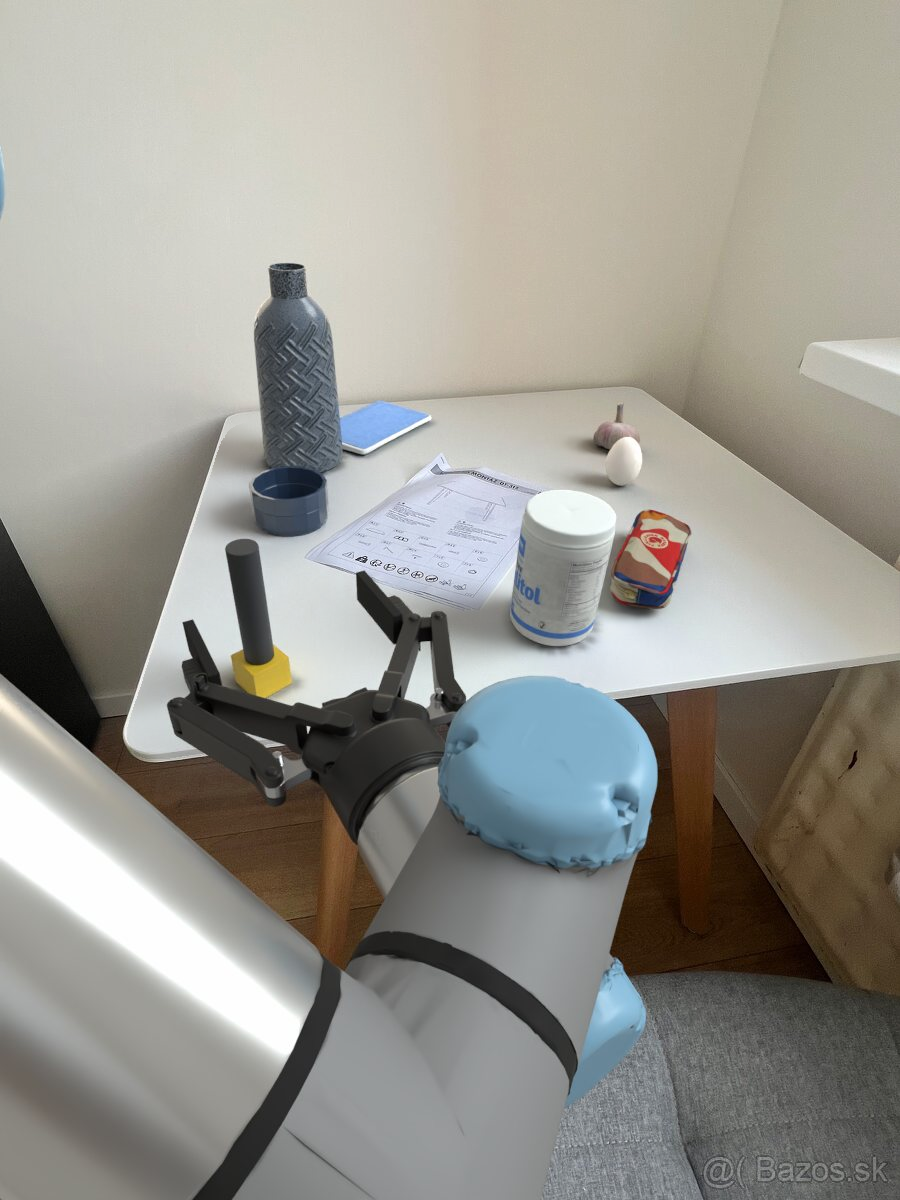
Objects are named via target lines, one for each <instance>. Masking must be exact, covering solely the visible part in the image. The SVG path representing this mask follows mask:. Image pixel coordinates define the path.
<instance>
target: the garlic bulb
mask: <svg viewBox="0 0 900 1200" xmlns="http://www.w3.org/2000/svg"><path fill="white" fill-rule="evenodd" d="M616 406H617V407H616V415H615V416H616V417H615V420H611V421H604V422H602V423H601V424H600V425H599V426H597V429H596V431H595V432H594V434H593V436H592V437H593V443H594V444H595V445H596V446H598V447H603V448H605V449H607V450H609V451H610V450H611V448H612V446H613V445H614V444H615V443H616V442H617V441H618V440H620V439H621V438H624V437H631V438H633V439H634V440H636V441H637V443H638V444H639V445H640V441H641V437H640V435H639V433H638V431H637V429H636V428H635V427H634V426H633V425H629V424H628V423H626V422H624V402H623V401H620V402H618V403H617V405H616Z"/></svg>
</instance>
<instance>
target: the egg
mask: <svg viewBox="0 0 900 1200" xmlns="http://www.w3.org/2000/svg"><path fill="white" fill-rule="evenodd" d="M642 465H643V453H642V448H641V446H640V443H639V444H638V443H637V441H636V440H634V439H633V438H631V437H624V438H621V439H620V440H618V441H617V442H616V443H615V444H614V445H613V446H612V448H611V449H610V450H609V451H608V453H607V456H606V460H605V473H606V476H607V477H608V479H609V480H610V482H612V483H613V485H616V486H626V485H629V484H631V483H632V482H633V481H635V479H637V477H638V476H639V474H640V472H641V468H642Z"/></svg>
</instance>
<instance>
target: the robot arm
mask: <svg viewBox="0 0 900 1200" xmlns="http://www.w3.org/2000/svg"><path fill="white" fill-rule="evenodd" d="M5 203H6V171H5V163H4V156H3V152H2V146H1V145H0V220H1V219H2V216H3V212H4V208H5ZM355 582H356V585H355V586H356V601H357V602H358V603H359V604H360V605H361V606H362V608H363V609H364V610H365V611H366V613H367V614H368V615H369V617H370V618H371V619H372V620H373V621H374V623H375V624H376V625H377V626H378V627H379V629H380V630H381V632H382V633H384V635H385V636H386V638H387V639H388V640H389V641H390V642H391V644H392V645H395V646H394V649H393V651H392V654H391V657H390V661H389V663H388V666H387V669H385V670H384V672H383V675H382V678H381V681H380V684H379V686H378V689H368V688H367V687H366V686H365V687H363V688H360V689H357V690H355V691H352V693H350V694H348V695H347V696H344V697H339V698H332V699H330V700H327V701H325V702H322V703H321V707H316V706H314V705H310V704H306V703H303V702H298V701H297V702H295V703H294V704H293V705H292V704H287V703H284V702H280V701H276V700H273V699H270V698H267V697H266V698H263V697H259V696H256V695H253V694H249V693H247V692H246V691H241V690H239V689H235V688H231V687H228V686H224V685H223V683H222V679H221V673H220V671H219V669H218V666H217V665H216V662H215V660H214V659H213V657H212V655H211V653H210V651H209V649H208V647H207V645H206V643H205V640H204V638H203V637H202V634H201V633H200V630H199V629H198V627H197V624H196V622H195V620H194V619H189V620H186V621H182V627H183V631H184V636H185V639H186V644H187V649H188V652H189V654H190V656H191V658H188V659H184V660H182V662H181V670H182V673H183V678H184V682H185V685H186V686H187V690H188V692H189V693H188V694H187V695H186V696H185V697H182V696H177V697H173V698H171V699H170V700H168V702H167V704H166V709H167V712H168V717H169V719H170V723H171V726H172V730H173V734H174V735H175V736H176V737H177V738H179V739H180V740H182V741H183V742H185V743H187V744H189V745H190V746H192V747H193V748H195V749H196V750H198V751H199V752H202V754H203V755H205V756H207V757H209V758H211V759H212V760H214V761H216V762H217V763H219V764H220V765H222V766H224V767H225V768H227V769H228V770H230V771H232V772H233V773H235V774H236V775H238V776H240V777H242V778H243V779H244V780H246V781H247V782H249V783H251V784H253V785H254V786H255V788H256V790H257V791H258V792H259V794H260V795H261V797H262V798H263V800H264V802H266V804H267V805H268V806H269V807H272V808H277V807H281V806H282V805H284V803H286V801H287V791H290V790H292V789H294V788H295V787H297V786H300V785H301V784H303V783H305V782H307V781H309V780H310V781H311V782H313V783H315V784H317V785H318V786H319V787H320V788H321V789H322V790H323V792H324V794H325V795H326V798H327V799H328V801H329V803H330V804H331V806H332V808H333V810H334V811H335V813H336V815H337V816H338V819H339V820H340V822H341V824H342V826H343V827H344V830H345V831H346V833H347V835H348V837H349V838H350V840H351V841H352V843H353V844H355V845H356V846H357V853H358V854H359V856H360V858H361V859H362V862H363V863H364V865H365V867H366V868H367V870H368V872H369V874H370V876H371V878H372V880H373V881H374V883H375V885H376V886H377V887H376V888H378V891H379V892H380V894H381V896H382V897H383V902H382V904H380V907H379V908H378V911H377V912H376V913H375V916H374V917H373V919H372V921H371V923H370V925H369V926H368V928H367V930H366V932H365V933H364V935H363V937H362V939H361V940H360V941H359V942H358V944H357V946H356V948H355V949H354V951H353V953H352V955H351V956H350V958H349V960H348V962H347V964H346V966H345V969H344V970H342V969H341V968H340V967H338V966H337V965H335V964H334V963H333V962H332V961H331V960H329V959H328V958H327V957H326V956H324V954H322V953H321V952H320V951H319V949H318V947H317V946H316V945H315V944H313V943H312V942H311V941H310V940H309V939H308V938H307V937H305V936H304V935H303V934H302V933H300V932H299V931H298V930H297V929H296V928H295V927H294V926H292V925H291V924H290V923H289V922H288V921H287V920H285V919H284V918H283V917H282V916H281V915H280V914H279V913H278V912H276V911H275V910H274V909H273V908H272V907H271V906H269V905H268V904H267V903H266V902H265V901H264V900H262V899H261V898H260V897H259V896H258V895H256V893H254V892H253V891H252V890H251V889H250V888H248V887H247V886H246V885H245V883H243V882H242V881H241V880H239V879H238V878H237V877H236V876H235V875H234V874H232V872H230V871H229V870H228V869H226V867H225V866H224V865H222V864H221V863H220V862H218V860H216V859H215V858H214V857H213V856H212V855H211V854H209V853H208V852H207V851H206V850H205V849H204V848H202V847H201V846H200V845H199V844H198V843H197V842H196V841H194V840H193V839H192V838H191V837H190V836H188V834H186V833H185V832H184V831H183V830H181V829H180V828H179V827H178V826H177V825H175V824H174V823H173V822H172V821H171V820H170V819H169V818H168V817H167V816H165V815H164V814H163V813H162V812H161V811H160V810H159V809H158V808H157V807H155V806H154V805H153V804H152V803H150V802H149V801H148V800H147V799H145V797H144V796H142V795H141V794H140V793H139V792H137V790H135V789H134V788H133V787H132V786H131V785H130V784H128V783H127V782H126V781H125V780H124V779H123V778H122V777H120V776H119V775H118V774H117V773H116V772H115V771H113V770H112V769H111V768H110V767H109V766H107V764H105V763H104V762H103V761H102V760H101V759H100V758H99V757H98V756H96V755H95V754H94V753H92V752H91V751H90V750H89V749H88V748H87V747H86V746H85V745H84V744H83V743H81V742H80V741H79V740H78V739H77V738H75V737H74V736H73V735H72V734H70V733H69V732H68V731H67V730H66V729H65V728H64V727H62V725H60V724H59V723H58V722H57V721H56V720H55V719H54V718H52V717H51V716H50V715H49V714H48V713H47V712H45V711H44V710H43V709H42V708H41V707H40V706H38V705H37V704H36V702H34V701H32V699H30V698H29V697H28V696H27V695H25V693H23V692H22V691H21V690H20V689H19V688H18V687H16V686H15V685H14V684H13V683H12V682H10V681H9V680H8V679H7V678H6V677H4V675H3V674H1V673H0V1199H1V1200H542V1196H543V1192H544V1189H545V1184H546V1181H547V1178H548V1173H549V1169H550V1167H551V1166H550V1165H551V1162H552V1158H553V1153H554V1151H555V1146H556V1141H557V1139H558V1134H559V1130H560V1125H561V1122H562V1119H563V1115H564V1111H565V1110H566V1109H567V1108H569V1107H570V1106H571V1105H573V1104H574V1103H576V1102H577V1101H578V1100H580V1098H582V1097H583V1096H585V1095H586V1094H587V1093H588V1092H589V1091H591V1090H592V1089H593V1088H594V1087H596V1085H598V1084H599V1083H600V1082H601V1081H602V1080H604V1078H606V1076H608V1075H609V1074H610V1073H611V1072H612V1071H613V1070H614V1069H615V1068H616V1067H617V1066H618V1065H619V1064H620V1063H621V1062H622V1061H623V1059H624V1058H625V1057H626V1056H627V1054H629V1053H630V1051H631V1050H632V1048H634V1046H635V1045H636V1044H637V1042H638V1040H639V1038H640V1037H641V1035H642V1033H643V1031H644V1028H645V1026H646V1020H647V1012H646V1008H645V1005H644V1002H643V998H642V997H641V996H640V994H639V992H638V990H637V989H636V987H635V986H634V984H633V983H632V981H631V979H629V976H628V975H627V974H626V972H625V970H624V964H623V963H622V962H621V961H620V960H619V959H618V957H615V956H612V955H611V953H610V952H611V947H612V944H613V940H614V938H615V937H614V936H615V933H616V929H617V926H618V921H619V918H620V914H621V910H622V907H623V903H624V900H625V895H626V891H627V889H628V885H629V881H630V877H631V875H632V872H633V868H634V865H635V862H636V860H637V857H638V854H639V852H640V851H642V849H643V848H644V846H645V845H646V842H647V837H648V831H649V826H650V824H651V823H653V819H652V812H651V810H652V806H653V803H654V799H655V795H656V792H657V787H658V763H657V762H658V761H657V758H656V753H655V751H654V747H653V745H652V743H651V741H650V739H649V737H648V734H647V732H646V731H645V730H644V728H643V727H642V726H641V724H640V722H638V720H637V718H635V717H634V716H633V715H632V714H631V713H630V712H629V711H628V710H627V709H626V708H625V707H624V705H621V704H620V703H619V702H617V701H616V700H615V699H614V698H612V697H610V696H609V695H608V694H605V693H604V692H602V691H600V690H598V689H596V688H594V687H585V686H584V685H582V684H581V683H578V682H570V681H568V680H566V679H565V678H562V677H558V676H550V675H549V676H548V675H525V676H517V677H512V678H507V679H505V680H501V681H497V682H495V683H492V684H490V685H488V686H485V687H484V688H482V689H480V690H479V691H477V692H476V693H474V694H473V695H472V696H471V697H470V698H468V699H467V695H466V693H465V692H464V690H463V688H462V687H461V686H460V684H459V683H458V682H457V680H456V678H455V671H454V663H453V656H452V655H453V654H452V647H451V638H450V630H449V623H448V615H447V613H446V612H445V611H441V610H434V611H432V612H431V614H430V616H421V614H419V613H416V612H413V610H411V609H410V607H409V606H408V605H407V604H406V603H405V602H404V601H403V600H402V599H401V597H399V596H397V595H394V594H393V595H390V596H388V595H387V594H386V593H385V592H384V591H383V590H382V588H381V587H380V586H379V585H378V584H377V583H376V582H375V580H374V579H373V578H372V577H371V576H370V575H369V573H367V571H366V570H365V569H364V570H360V571H357V572H355ZM426 642H429V648H430V658H431V669H432V680H433V691H434V693H432V694H431V695H430V697H429V706H427V707H425V706H424V705H422V704H421V703H418V702H414V701H412V700H409V699H406V694H407V691H408V688H409V685H410V681H411V677H412V675H413V671H414V667H415V665H416V661H417V658H418V654H419V652H421V650H422V649H421V648H422V645H421V644H422V643H426ZM443 725H446V726H447V728H448V731H447V735H446V739H444V738H443V737H442V736H441V734H440V733H439V732H438V730H437V729H436V728H437V727H440V726H443ZM308 727H309V729H308ZM252 736H255V737H257V738H261V739H264V740H267V741H271V742H274V743H277V744H281V745H284V746H286V747H287V748H288V749H289V750H290V751H291V752H292V753H294V754H296V755H300V756H301V758H298V759H290V758H288V757H287V756H285V755H283V753H282V752H281V751H280V750H275V751H273V752H271V751H270V750H269V748H268V747H266V746H265V745H264V744H263V743H261V742H259V741H258V740H256V739H255V738H253V737H252Z"/></svg>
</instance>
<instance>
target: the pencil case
mask: <svg viewBox="0 0 900 1200" xmlns="http://www.w3.org/2000/svg"><path fill="white" fill-rule="evenodd" d="M691 536H692V529H691V527H690V525H689V524H687V523H685V522H683V521H681V520H679V519H677V518H675V517H673V516H671V515H670V514H667V513H665V512H661V511H658V510H655V509H644V510H641V511H640V512H639V513H637V514H636V516H635V518H634V522H633V523H632V525H631V528H630V530H629V532H628V534H627V537H626V538H625V541H624V543H623V545H622V547H621V548H620V550H619V553H618V554H617V557H616V559H615V561H614V563H613V565H612V568H611V571H610V576H611V583H610V587H609V590H610V593H611V595H612V597H613V598H614V599H615V600H616V602H618V603H619V604H621V605H624V606H630V607H637V608H644V609H650V610H660V609H662V610H663V609H665V608H666V607H668V606H669V605H670V604H671V600H672V597H673V593H674V590H675V588H676V584H677V580H678V578H679V574H680V571H681V569H682V563H683V561H684V559H685V554H686V551H687V548H688V543H689V540H690V538H691Z"/></svg>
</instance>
